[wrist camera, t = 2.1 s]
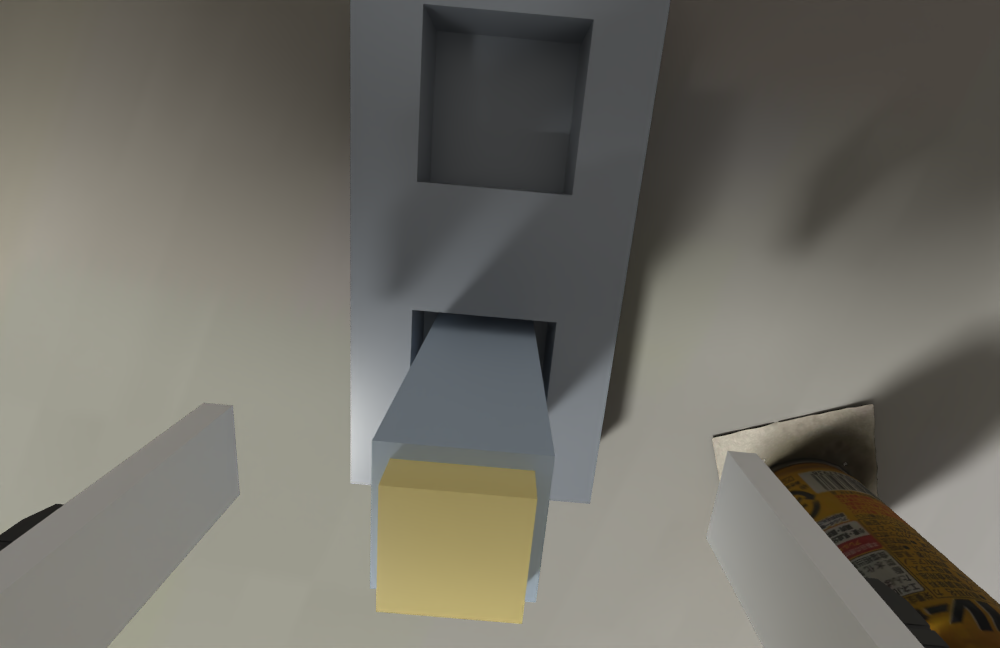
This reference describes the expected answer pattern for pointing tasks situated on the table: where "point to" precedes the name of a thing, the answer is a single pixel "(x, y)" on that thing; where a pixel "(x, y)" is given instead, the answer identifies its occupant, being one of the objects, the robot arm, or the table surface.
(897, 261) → the table surface
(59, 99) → the table surface
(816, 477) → the condiment
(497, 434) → the plug
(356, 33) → the panel
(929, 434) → the table surface
